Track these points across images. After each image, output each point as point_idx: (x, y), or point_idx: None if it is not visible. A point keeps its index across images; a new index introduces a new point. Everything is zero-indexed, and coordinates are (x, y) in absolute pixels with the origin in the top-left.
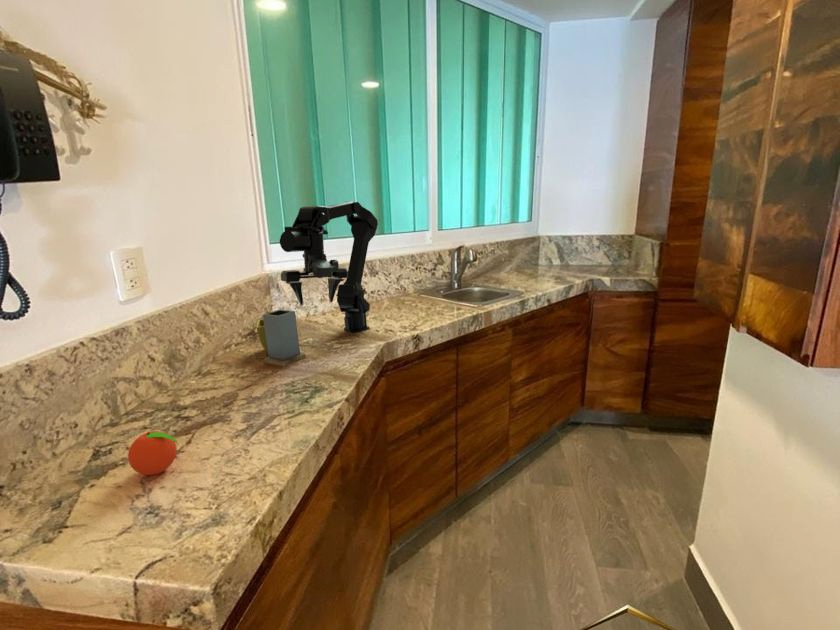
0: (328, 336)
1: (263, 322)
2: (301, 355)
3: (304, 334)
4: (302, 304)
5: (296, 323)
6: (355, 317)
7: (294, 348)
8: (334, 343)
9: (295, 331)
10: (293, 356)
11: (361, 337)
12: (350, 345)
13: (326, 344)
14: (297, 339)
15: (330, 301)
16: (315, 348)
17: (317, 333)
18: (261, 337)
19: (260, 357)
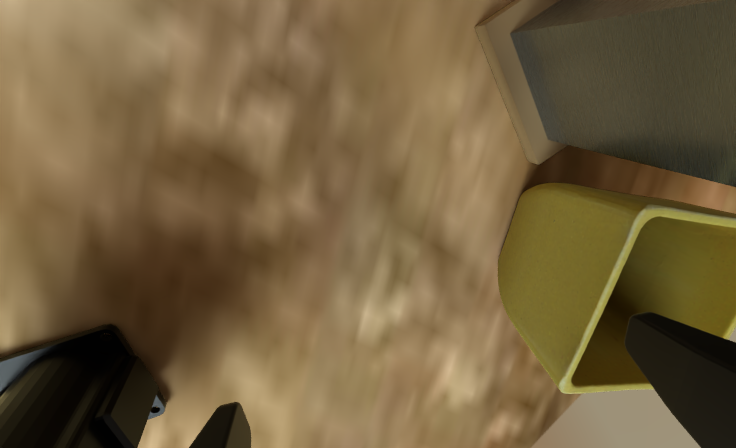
0: (275, 323)
1: None
2: (511, 7)
3: (375, 396)
4: (644, 315)
5: (706, 1)
6: (39, 418)
7: (578, 3)
8: (269, 185)
9: (654, 1)
10: (557, 2)
11: (70, 214)
12: (175, 83)
13: (316, 192)
14: (586, 17)
15: (244, 422)
16: (388, 154)
17: (317, 389)
18: (699, 206)
19: (625, 167)
